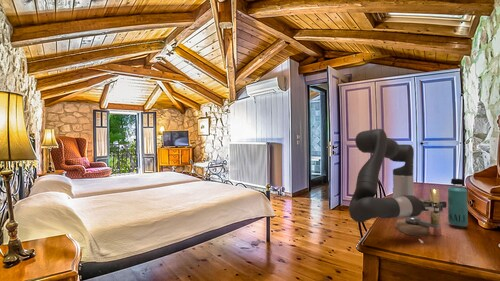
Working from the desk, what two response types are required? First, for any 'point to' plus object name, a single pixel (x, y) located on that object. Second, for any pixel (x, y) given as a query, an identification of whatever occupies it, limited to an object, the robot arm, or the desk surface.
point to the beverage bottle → (457, 204)
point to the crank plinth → (412, 228)
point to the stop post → (438, 230)
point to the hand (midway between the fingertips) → (440, 203)
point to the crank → (433, 216)
